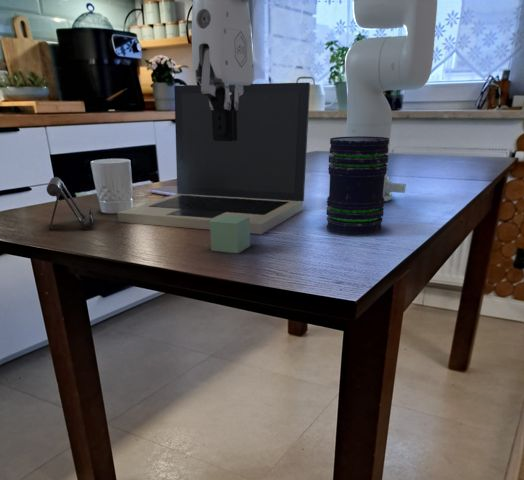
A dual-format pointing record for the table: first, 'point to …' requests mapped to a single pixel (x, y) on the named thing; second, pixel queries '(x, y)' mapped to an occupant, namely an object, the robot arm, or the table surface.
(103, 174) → the white cup
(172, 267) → the table surface
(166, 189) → the mobile phone
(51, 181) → the tablet stand
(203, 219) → the laptop base
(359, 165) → the storage jar
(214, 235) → the block
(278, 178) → the laptop screen
